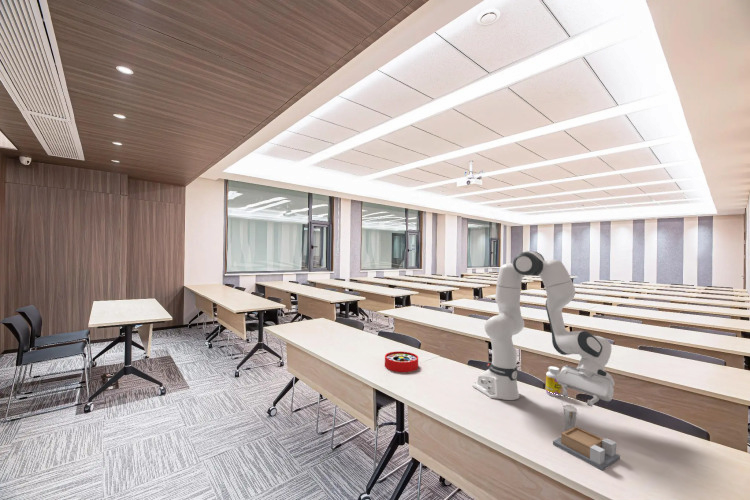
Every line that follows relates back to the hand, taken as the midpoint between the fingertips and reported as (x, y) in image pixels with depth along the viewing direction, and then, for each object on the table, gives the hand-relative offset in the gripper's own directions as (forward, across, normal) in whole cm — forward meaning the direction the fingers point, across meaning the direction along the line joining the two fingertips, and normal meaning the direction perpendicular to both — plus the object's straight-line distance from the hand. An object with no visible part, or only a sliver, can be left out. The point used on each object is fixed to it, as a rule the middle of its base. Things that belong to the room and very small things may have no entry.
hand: (576, 400), depth 130 cm
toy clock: (+23, -88, -9) cm, 92 cm away
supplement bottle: (-8, -21, +22) cm, 31 cm away
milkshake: (+11, 0, +3) cm, 12 cm away
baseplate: (+18, +11, -4) cm, 21 cm away
